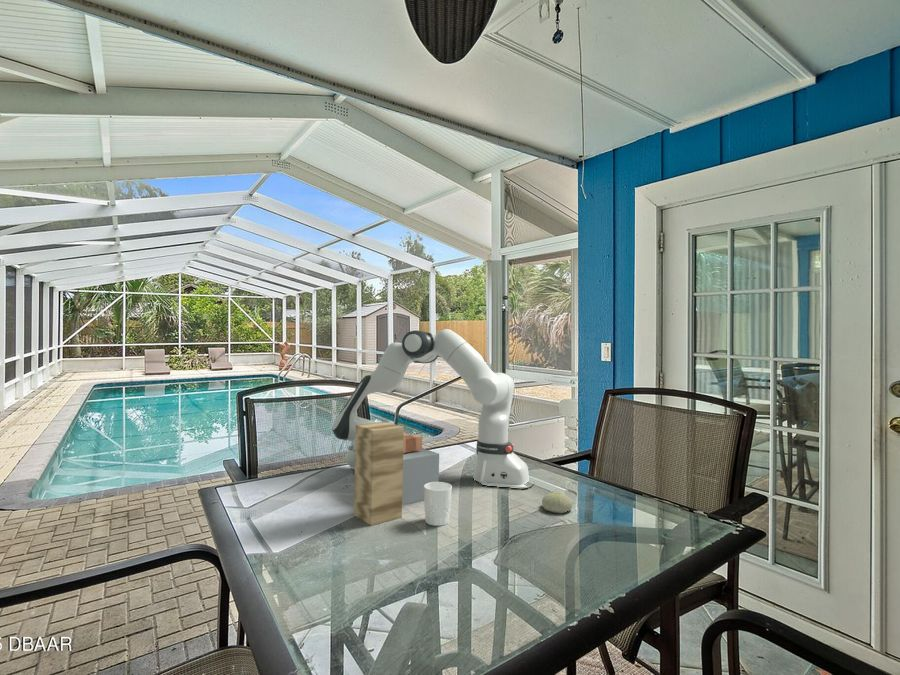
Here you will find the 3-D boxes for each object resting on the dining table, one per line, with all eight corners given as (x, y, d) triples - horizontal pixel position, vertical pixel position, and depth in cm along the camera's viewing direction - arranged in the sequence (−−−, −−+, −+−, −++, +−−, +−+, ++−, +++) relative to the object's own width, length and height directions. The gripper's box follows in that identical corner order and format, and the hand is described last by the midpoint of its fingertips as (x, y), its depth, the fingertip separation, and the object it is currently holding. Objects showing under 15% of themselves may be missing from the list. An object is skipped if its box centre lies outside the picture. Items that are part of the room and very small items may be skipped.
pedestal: (401, 517, 136) (403, 426, 136) (371, 525, 130) (373, 430, 130) (383, 507, 144) (385, 421, 144) (353, 514, 137) (355, 424, 137)
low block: (438, 496, 154) (439, 453, 154) (399, 506, 145) (400, 460, 145) (407, 482, 168) (407, 443, 168) (369, 490, 159) (370, 448, 159)
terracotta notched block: (421, 449, 157) (422, 436, 157) (399, 453, 151) (399, 439, 151) (395, 439, 169) (396, 427, 169) (373, 442, 163) (373, 429, 163)
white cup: (448, 528, 129) (448, 491, 129) (420, 525, 131) (420, 489, 131) (453, 517, 137) (454, 483, 137) (427, 515, 138) (427, 480, 138)
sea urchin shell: (536, 505, 143) (542, 482, 148) (542, 518, 148) (547, 495, 153) (567, 511, 139) (572, 487, 144) (571, 524, 143) (576, 500, 148)
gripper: (344, 441, 168) (361, 427, 158) (393, 434, 181) (411, 421, 171) (347, 458, 165) (365, 445, 156) (397, 450, 178) (416, 438, 169)
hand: (389, 432), depth 164 cm, fingers open, 4 cm apart
